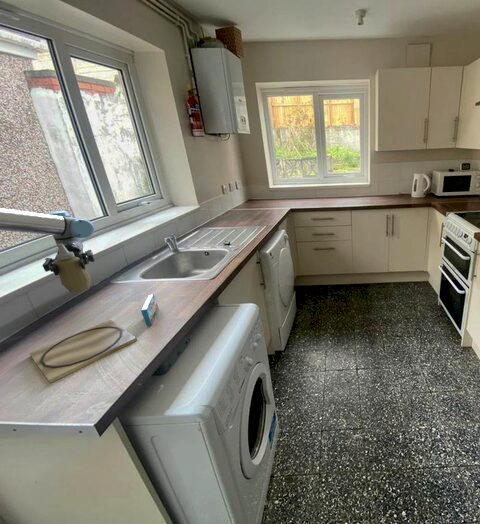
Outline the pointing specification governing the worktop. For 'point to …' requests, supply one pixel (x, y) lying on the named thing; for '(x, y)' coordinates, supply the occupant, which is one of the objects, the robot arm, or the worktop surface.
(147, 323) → the printed carton box
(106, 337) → the cutting board
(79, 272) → the squeeze bottle
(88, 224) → the robot arm
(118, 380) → the worktop surface
